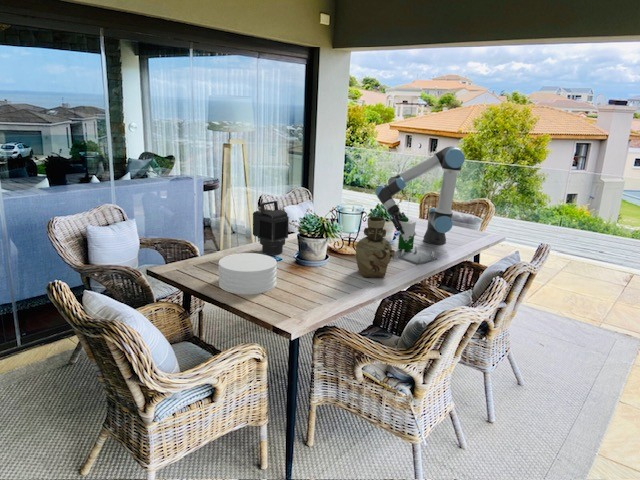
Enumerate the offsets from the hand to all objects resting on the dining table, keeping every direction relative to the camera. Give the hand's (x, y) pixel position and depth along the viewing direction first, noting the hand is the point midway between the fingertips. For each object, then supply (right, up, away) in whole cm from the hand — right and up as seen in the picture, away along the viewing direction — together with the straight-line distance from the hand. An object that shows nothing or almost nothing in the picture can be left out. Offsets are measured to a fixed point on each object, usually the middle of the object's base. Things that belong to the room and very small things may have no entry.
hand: (411, 236), depth 299 cm
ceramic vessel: (-29, -20, -39) cm, 52 cm away
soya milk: (-3, -8, +4) cm, 9 cm away
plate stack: (-93, -24, -62) cm, 114 cm away
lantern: (-87, -9, -10) cm, 88 cm away
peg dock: (+2, -13, -11) cm, 17 cm away
